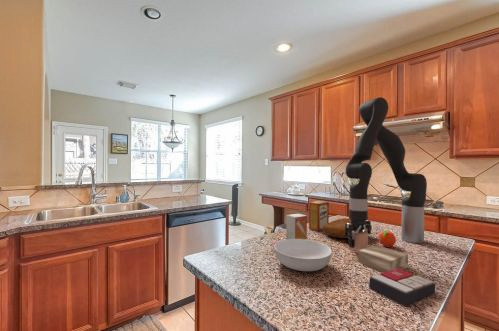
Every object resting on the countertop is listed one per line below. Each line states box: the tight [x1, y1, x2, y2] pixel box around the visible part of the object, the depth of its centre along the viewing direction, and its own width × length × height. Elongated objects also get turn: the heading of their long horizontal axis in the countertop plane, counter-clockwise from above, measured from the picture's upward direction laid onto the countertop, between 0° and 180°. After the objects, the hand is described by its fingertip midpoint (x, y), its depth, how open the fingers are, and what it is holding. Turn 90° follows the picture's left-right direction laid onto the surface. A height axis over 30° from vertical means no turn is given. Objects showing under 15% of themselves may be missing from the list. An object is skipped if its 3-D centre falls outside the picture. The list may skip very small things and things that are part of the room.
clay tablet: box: [323, 217, 372, 239], centre depth 125 cm, size 22×17×8 cm
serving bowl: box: [273, 239, 333, 272], centre depth 89 cm, size 21×21×7 cm
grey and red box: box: [368, 269, 436, 308], centre depth 71 cm, size 11×4×15 cm
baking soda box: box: [308, 200, 330, 233], centre depth 140 cm, size 10×6×16 cm
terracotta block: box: [348, 231, 369, 254], centre depth 104 cm, size 6×6×8 cm
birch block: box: [357, 244, 409, 273], centre depth 90 cm, size 12×12×5 cm
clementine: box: [378, 230, 397, 248], centre depth 110 cm, size 8×7×7 cm
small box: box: [285, 213, 308, 240], centre depth 116 cm, size 8×6×13 cm
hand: (358, 245), depth 105 cm, fingers open, 8 cm apart
